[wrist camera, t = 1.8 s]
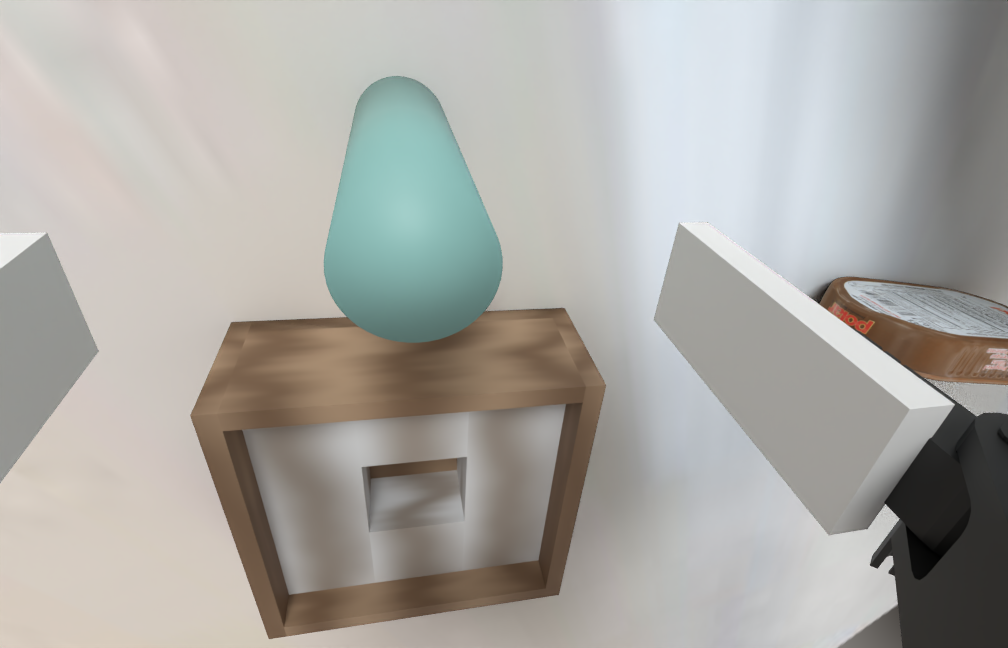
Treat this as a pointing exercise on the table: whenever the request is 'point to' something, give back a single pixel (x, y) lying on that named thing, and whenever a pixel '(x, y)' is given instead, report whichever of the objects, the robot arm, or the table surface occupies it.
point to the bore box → (399, 464)
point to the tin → (927, 327)
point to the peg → (409, 222)
